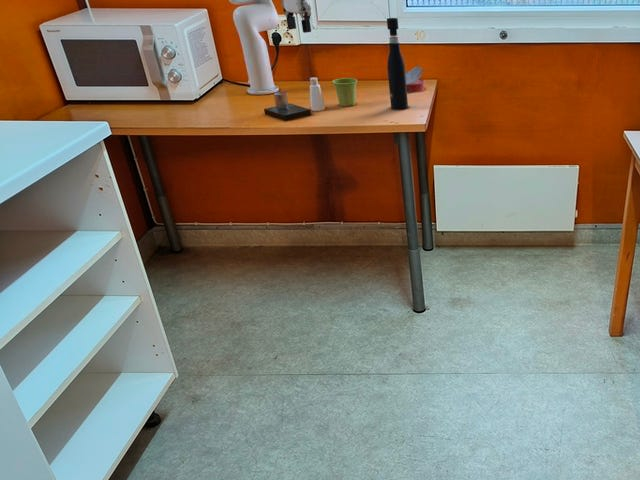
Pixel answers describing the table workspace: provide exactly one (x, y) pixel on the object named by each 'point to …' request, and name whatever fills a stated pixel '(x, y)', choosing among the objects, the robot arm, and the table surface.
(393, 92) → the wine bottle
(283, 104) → the hob knob
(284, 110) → the black knob panel
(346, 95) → the plant pot
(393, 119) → the table surface
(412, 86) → the tissue box
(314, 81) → the pepper shaker
